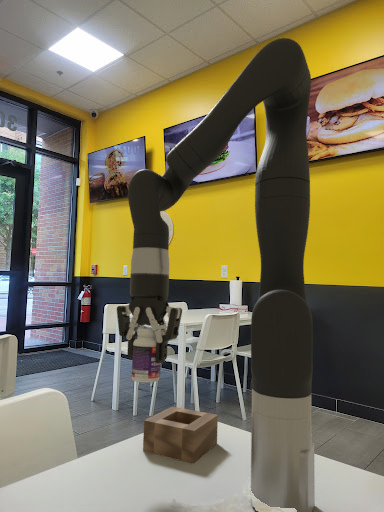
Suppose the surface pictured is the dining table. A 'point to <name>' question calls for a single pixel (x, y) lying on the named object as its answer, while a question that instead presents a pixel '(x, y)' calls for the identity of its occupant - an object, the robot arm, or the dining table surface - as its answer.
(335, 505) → the dining table surface
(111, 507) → the dining table surface
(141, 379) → the pill bottle
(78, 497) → the dining table surface
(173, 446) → the socket block
